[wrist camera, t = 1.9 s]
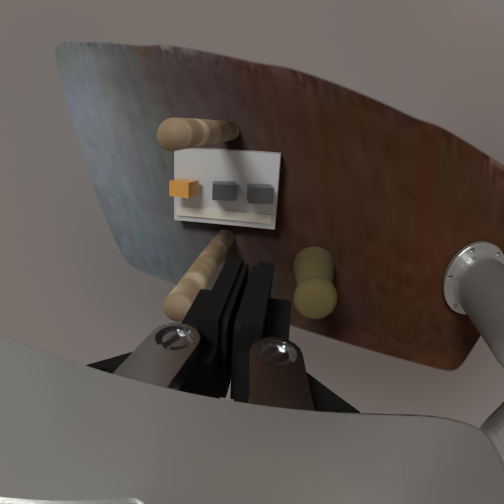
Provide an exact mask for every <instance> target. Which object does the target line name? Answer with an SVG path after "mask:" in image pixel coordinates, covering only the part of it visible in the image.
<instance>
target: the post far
mask: <svg viewBox="0 0 504 504" xmlns="http://www.w3.org/2000/svg"><path fill="white" fill-rule="evenodd" d="M233 241H234V234H233V232H232V231H231V230H229V229H226V228H223V229H221V230H219V231H218V233H217V234H216V235H215V236H214V238H213V239H212V240H211V241H210V243H209V244H208V245H207V246H206V248H205V249H204V250H203V252H202V253H201V254H200V255H199V257H198V258H197V259H196V260H195V262H194V263H193V264H192V266H191V267H190V268H189V269H188V271H187V272H186V273H185V275H184V276H183V277H182V279H181V280H180V281H179V282H178V284H177V285H176V286H175V288H174V289H173V290H172V292H171V293H170V294H169V296H168V297H167V298H166V300H165V301H164V302H163V311H164V313H165V314H166V316H167V317H168V318H170V319H171V320H173V321H177V322H182V321H183V319H184V317H185V315H186V314H187V312H188V310H189V308H190V307H191V305H192V303H193V301H194V300H195V298H196V296H197V294H198V293H199V291H200V290H201V289H205V288H206V287H207V285H208V283H209V281H210V280H211V278H212V276H213V275H214V273H215V271H216V270H217V268H218V266H219V265H220V263H221V261H222V260H223V258H224V256H225V255H226V253H227V251H228V250H229V248H230V246H231V245H232V243H233Z"/></svg>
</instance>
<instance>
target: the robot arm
mask: <svg viewBox="0 0 504 504" xmlns="http://www.w3.org/2000/svg"><path fill="white" fill-rule="evenodd" d="M273 271H274V264H272V263H264V262H259V264H258V266H256V265H253V266H252V269H251V272H250V275H249V279H248V265H247V264H243V260H239V259H230V258H228V259H227V261H226V263H225V265H224V267H223V269H222V271H221V273H220V275H219V277H218V279H217V281H216V282H215V284H214V286H213V288H212V290H205V289H201V290H200V291H199V293H198V294H197V296H196V298H195V300H194V301H193V303H192V305H191V307H190V308H189V310H188V312H187V314H186V315H185V317H184V319H183V321H182V323H168V324H164V325H161V326H159V327H157V328H156V329H154V330H153V331H152V332H151V333H150V334H149V335H148V336H147V338H146V339H145V340H144V341H143V342H142V343H141V344H140V345H139V346H138V347H137V348H136V349H135V350H134V351H133V352H130V353H127V354H123V355H120V356H117V357H113V358H110V359H106V360H103V361H99V362H96V363H92V364H89V365H86V366H85V365H82V364H79V363H76V362H73V361H70V360H68V359H65V358H62V357H59V356H56V355H53V354H50V353H48V352H45V351H42V350H39V349H37V348H33V347H31V346H28V345H25V344H23V343H20V342H16V341H13V340H9V339H6V338H0V504H504V402H503V403H502V404H501V405H500V406H499V407H498V408H497V409H496V410H495V411H494V412H493V413H492V414H491V415H490V416H489V417H488V418H487V420H486V421H485V422H484V423H483V424H482V426H481V427H480V428H477V427H475V426H472V425H470V424H467V423H464V422H460V421H456V420H453V419H449V418H442V417H435V416H427V415H413V414H373V413H360V412H359V411H358V410H356V409H355V408H354V407H352V406H351V405H350V404H348V403H347V402H346V401H344V400H343V399H342V398H340V397H339V396H337V395H336V394H335V393H333V392H332V391H331V390H329V389H328V388H327V387H325V386H324V385H323V384H321V383H320V382H319V381H317V380H316V379H315V378H314V377H312V376H311V375H310V374H308V373H307V372H306V368H305V363H304V358H303V354H302V351H301V349H300V348H299V347H298V346H297V345H296V344H295V343H293V342H291V341H290V340H289V327H290V311H291V301H290V300H281V299H273V298H271V289H272V280H273ZM247 281H248V282H247ZM443 295H444V298H445V300H446V302H447V304H448V305H449V307H450V308H451V309H452V310H454V311H455V312H457V313H460V314H467V316H468V317H469V318H470V320H471V321H472V323H473V324H474V326H475V327H476V328H477V330H478V331H479V333H480V334H481V336H482V337H483V339H484V340H485V342H486V343H487V345H488V346H489V348H490V350H491V351H492V353H493V354H494V356H495V357H496V359H497V360H498V362H499V363H500V364H501V366H503V367H504V255H503V253H502V251H501V250H500V249H499V248H498V247H497V246H495V245H494V244H492V243H490V242H487V241H477V242H473V243H470V244H469V245H467V246H465V247H463V248H462V249H461V250H460V251H459V252H458V253H457V254H456V255H455V256H454V257H453V258H452V260H451V261H450V263H449V265H448V267H447V269H446V271H445V274H444V278H443ZM230 381H231V399H234V401H230V400H224V399H220V397H223V398H225V397H226V395H227V392H228V388H229V384H230Z"/></svg>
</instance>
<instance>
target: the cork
mask: <svg viewBox="0 0 504 504" xmlns="http://www.w3.org/2000/svg"><path fill="white" fill-rule="evenodd" d="M334 267H335V264H334V259H333V257H332V256H331V254H330V253H329V252H328V251H327V250H325V249H323V248H320V247H308V248H305V249H303V250H302V251H300V252H299V253H298V254H297V256H296V257H295V260H294V263H293V269H294V274H295V278H296V282H297V288H296V290H295V293H294V303H295V307H296V309H297V310H298V311H299V313H300V314H302V315H303V316H304V317H307V318H310V319H321V318H324V317H326V316H328V315H329V314H330V313H331V312H332V311H333V310H334V308H335V306H336V304H337V298H338V297H337V292H336V289H335V287H334V285H333V276H334Z"/></svg>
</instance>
